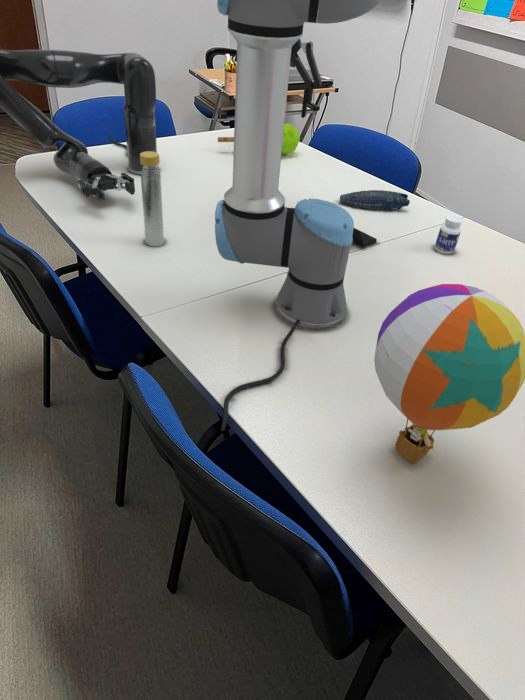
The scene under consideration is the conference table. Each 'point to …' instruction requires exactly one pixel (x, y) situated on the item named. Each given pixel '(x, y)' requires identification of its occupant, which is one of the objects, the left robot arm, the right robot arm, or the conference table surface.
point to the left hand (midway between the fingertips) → (118, 193)
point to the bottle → (152, 205)
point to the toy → (448, 362)
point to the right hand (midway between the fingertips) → (277, 112)
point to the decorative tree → (289, 139)
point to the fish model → (376, 199)
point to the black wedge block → (362, 238)
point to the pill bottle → (448, 235)
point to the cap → (149, 158)
